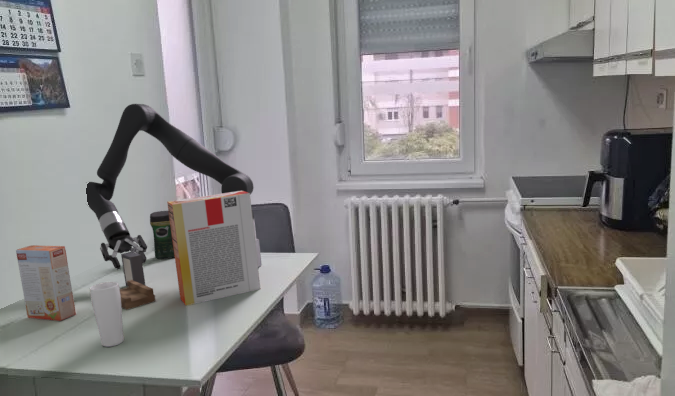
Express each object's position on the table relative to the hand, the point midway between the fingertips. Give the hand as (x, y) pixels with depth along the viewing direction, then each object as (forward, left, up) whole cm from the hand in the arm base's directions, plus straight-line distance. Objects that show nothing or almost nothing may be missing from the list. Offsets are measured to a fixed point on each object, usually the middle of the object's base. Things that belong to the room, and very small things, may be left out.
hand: (132, 265), depth 193 cm
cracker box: (+8, +28, -7) cm, 30 cm away
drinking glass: (-26, +43, -7) cm, 51 cm away
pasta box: (-35, +5, -7) cm, 37 cm away
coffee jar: (+12, -36, -7) cm, 38 cm away
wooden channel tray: (-8, +13, -7) cm, 17 cm away
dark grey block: (0, 0, -7) cm, 7 cm away
